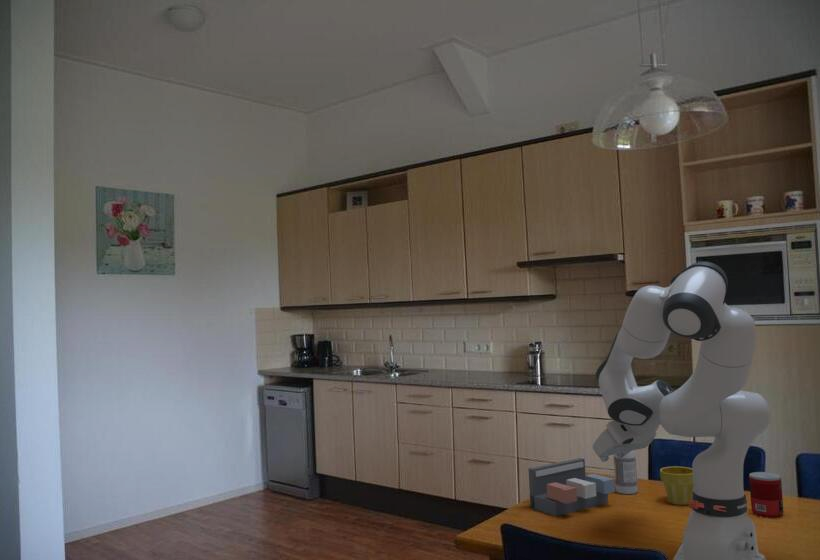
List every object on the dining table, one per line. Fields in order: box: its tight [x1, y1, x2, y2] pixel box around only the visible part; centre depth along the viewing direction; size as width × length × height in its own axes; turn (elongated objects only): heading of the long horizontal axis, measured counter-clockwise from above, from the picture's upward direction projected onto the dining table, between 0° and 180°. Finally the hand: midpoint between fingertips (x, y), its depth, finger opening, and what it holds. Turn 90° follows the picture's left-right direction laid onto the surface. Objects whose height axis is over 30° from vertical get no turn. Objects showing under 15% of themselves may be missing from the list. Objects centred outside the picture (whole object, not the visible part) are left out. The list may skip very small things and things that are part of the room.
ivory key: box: [566, 478, 596, 499], centre depth 199 cm, size 8×5×4 cm, turn 31°
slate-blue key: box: [585, 473, 616, 494], centre depth 203 cm, size 8×5×4 cm, turn 31°
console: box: [528, 457, 609, 518], centre depth 203 cm, size 11×22×12 cm, turn 121°
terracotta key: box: [547, 482, 577, 504], centre depth 195 cm, size 8×5×4 cm, turn 31°
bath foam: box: [613, 450, 639, 495], centre depth 215 cm, size 7×7×20 cm
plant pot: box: [659, 465, 694, 506], centre depth 201 cm, size 10×10×10 cm
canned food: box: [748, 471, 784, 519], centre depth 187 cm, size 8×8×11 cm
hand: (610, 457), depth 188 cm, fingers open, 5 cm apart
